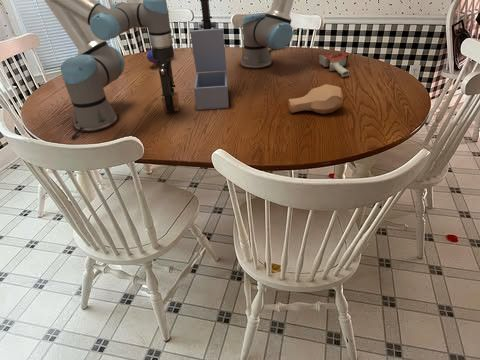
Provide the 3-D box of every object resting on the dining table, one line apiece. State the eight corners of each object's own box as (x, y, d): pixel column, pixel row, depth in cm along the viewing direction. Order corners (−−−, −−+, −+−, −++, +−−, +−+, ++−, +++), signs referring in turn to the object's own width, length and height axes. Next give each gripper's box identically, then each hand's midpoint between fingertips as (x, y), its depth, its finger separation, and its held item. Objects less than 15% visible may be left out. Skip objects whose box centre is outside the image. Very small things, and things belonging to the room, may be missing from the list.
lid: (223, 29, 132) (222, 17, 138) (189, 31, 132) (190, 19, 138) (226, 70, 146) (225, 58, 151) (196, 72, 146) (196, 60, 151)
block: (178, 110, 135) (176, 97, 132) (164, 111, 135) (161, 98, 132) (179, 104, 140) (177, 91, 136) (165, 105, 139) (163, 92, 136)
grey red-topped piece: (345, 82, 156) (359, 65, 169) (347, 70, 153) (362, 54, 165) (308, 74, 164) (324, 58, 176) (309, 63, 160) (326, 48, 173)
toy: (161, 63, 199) (140, 68, 177) (156, 30, 193) (134, 32, 170) (177, 62, 197) (158, 68, 175) (173, 29, 190) (153, 31, 168)
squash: (347, 114, 128) (348, 93, 121) (291, 124, 130) (290, 103, 123) (339, 97, 135) (340, 77, 129) (287, 107, 137) (285, 87, 131)
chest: (228, 107, 138) (227, 86, 133) (196, 109, 138) (193, 88, 133) (228, 91, 151) (226, 71, 146) (198, 92, 151) (196, 73, 146)
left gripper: (169, 53, 116) (178, 118, 130) (175, 38, 131) (183, 97, 145) (146, 54, 116) (158, 118, 130) (155, 39, 131) (165, 98, 144)
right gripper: (211, -29, 121) (217, 42, 135) (212, -34, 134) (218, 32, 147) (189, -28, 121) (198, 43, 135) (192, -33, 134) (200, 33, 147)
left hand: (171, 107), depth 137 cm, fingers closed on block, 5 cm apart
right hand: (208, 37), depth 141 cm, fingers closed on lid, 2 cm apart
